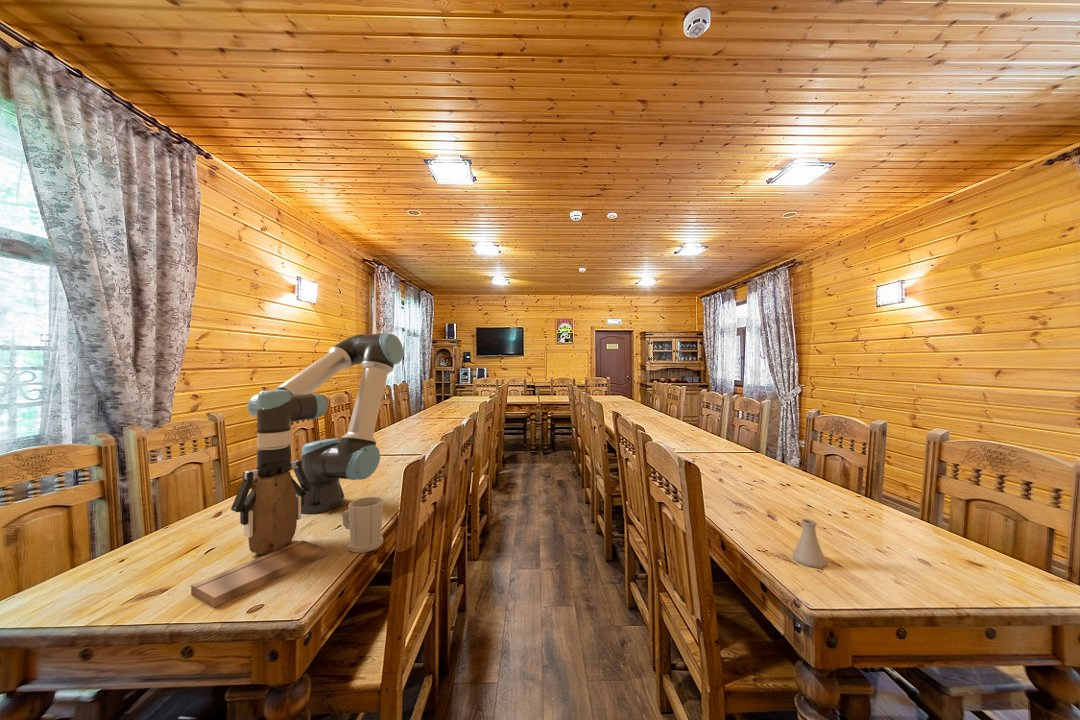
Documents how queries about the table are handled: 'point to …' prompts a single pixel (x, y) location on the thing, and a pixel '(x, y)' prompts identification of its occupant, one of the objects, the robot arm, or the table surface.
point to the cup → (364, 524)
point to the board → (256, 573)
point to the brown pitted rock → (273, 513)
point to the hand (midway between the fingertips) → (273, 526)
